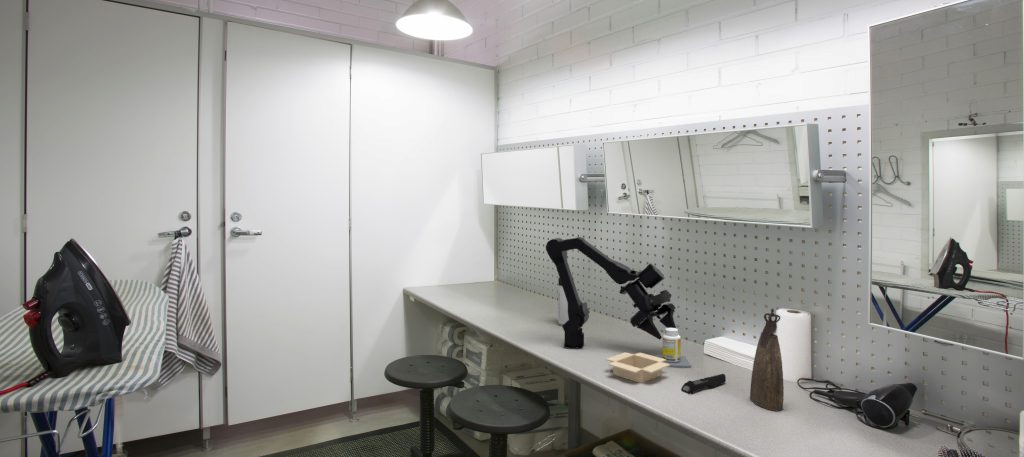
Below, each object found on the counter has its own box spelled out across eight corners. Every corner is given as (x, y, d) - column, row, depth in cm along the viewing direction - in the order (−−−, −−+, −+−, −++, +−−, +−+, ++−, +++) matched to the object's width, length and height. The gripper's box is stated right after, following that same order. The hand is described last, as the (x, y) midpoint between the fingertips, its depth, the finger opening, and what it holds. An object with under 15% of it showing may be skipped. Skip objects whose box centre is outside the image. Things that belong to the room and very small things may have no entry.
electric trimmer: (729, 386, 150) (729, 375, 150) (690, 396, 143) (690, 384, 143) (718, 382, 153) (718, 371, 153) (680, 391, 146) (680, 380, 146)
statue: (788, 403, 137) (788, 308, 134) (780, 413, 131) (780, 315, 128) (753, 395, 142) (752, 304, 140) (744, 405, 136) (743, 311, 134)
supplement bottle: (675, 357, 173) (675, 326, 172) (683, 362, 168) (684, 330, 167) (659, 358, 172) (659, 327, 171) (667, 363, 167) (667, 331, 166)
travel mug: (575, 323, 221) (575, 275, 219) (571, 327, 214) (571, 278, 213) (560, 322, 223) (560, 275, 221) (556, 326, 216) (556, 277, 215)
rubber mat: (658, 366, 166) (658, 364, 166) (654, 356, 175) (654, 355, 175) (691, 368, 164) (691, 366, 164) (685, 357, 174) (685, 356, 174)
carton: (599, 374, 159) (599, 361, 159) (631, 362, 170) (631, 350, 170) (644, 388, 147) (644, 374, 147) (675, 375, 158) (675, 361, 158)
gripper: (638, 286, 167) (668, 327, 159) (671, 279, 179) (700, 317, 171) (618, 306, 173) (646, 347, 166) (650, 298, 185) (678, 335, 178)
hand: (668, 336), depth 170 cm, fingers open, 9 cm apart
